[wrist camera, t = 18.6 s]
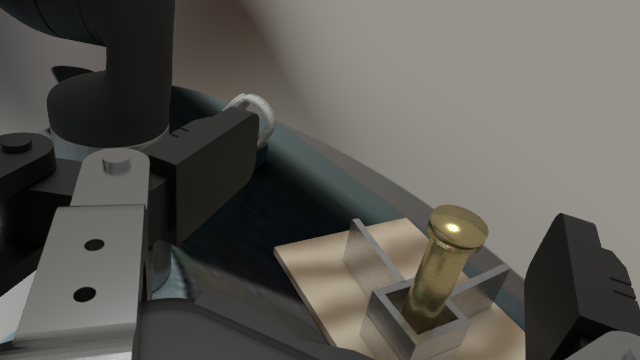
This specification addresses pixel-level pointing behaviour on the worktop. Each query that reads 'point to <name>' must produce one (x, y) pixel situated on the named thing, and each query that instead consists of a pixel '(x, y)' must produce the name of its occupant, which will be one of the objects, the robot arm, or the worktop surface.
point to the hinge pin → (442, 263)
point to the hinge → (389, 297)
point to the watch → (243, 102)
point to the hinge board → (351, 303)
